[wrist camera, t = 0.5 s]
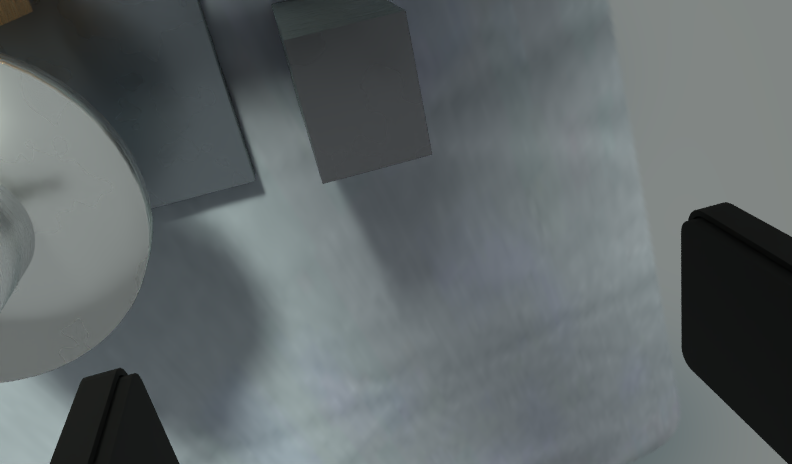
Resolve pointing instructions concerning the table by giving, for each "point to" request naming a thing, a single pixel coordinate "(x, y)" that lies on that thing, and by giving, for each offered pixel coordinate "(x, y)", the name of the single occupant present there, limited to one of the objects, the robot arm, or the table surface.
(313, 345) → the table surface
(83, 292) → the ringlock standard
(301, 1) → the grey rectangular block
